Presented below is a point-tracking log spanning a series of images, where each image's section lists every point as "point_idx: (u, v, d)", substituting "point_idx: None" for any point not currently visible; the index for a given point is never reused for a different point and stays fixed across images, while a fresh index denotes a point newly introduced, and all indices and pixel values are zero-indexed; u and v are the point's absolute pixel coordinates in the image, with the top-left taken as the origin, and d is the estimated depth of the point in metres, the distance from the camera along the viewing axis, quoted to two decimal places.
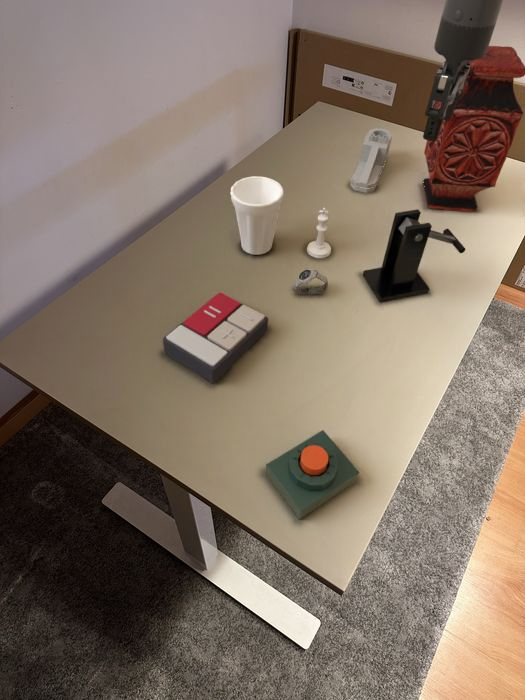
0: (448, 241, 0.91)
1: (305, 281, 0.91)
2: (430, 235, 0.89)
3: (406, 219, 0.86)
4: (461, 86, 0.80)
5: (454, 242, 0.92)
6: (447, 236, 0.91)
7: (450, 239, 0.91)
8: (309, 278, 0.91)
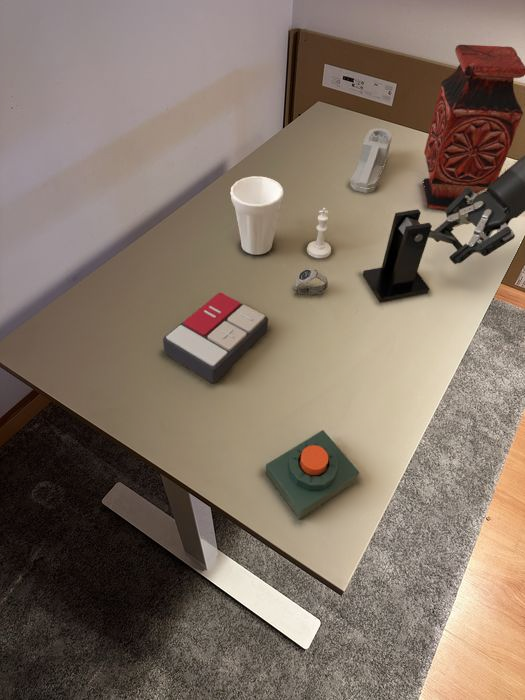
0: (448, 241, 0.91)
1: (305, 281, 0.91)
2: (430, 235, 0.89)
3: (406, 219, 0.86)
4: None
5: (454, 242, 0.92)
6: (447, 236, 0.91)
7: (450, 239, 0.91)
8: (309, 278, 0.91)
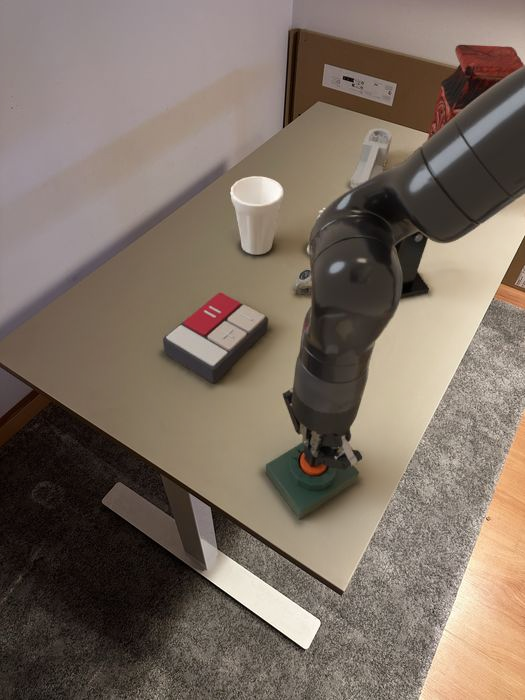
0: None
1: (305, 281, 0.91)
2: None
3: None
4: None
5: None
6: None
7: None
8: (309, 278, 0.91)
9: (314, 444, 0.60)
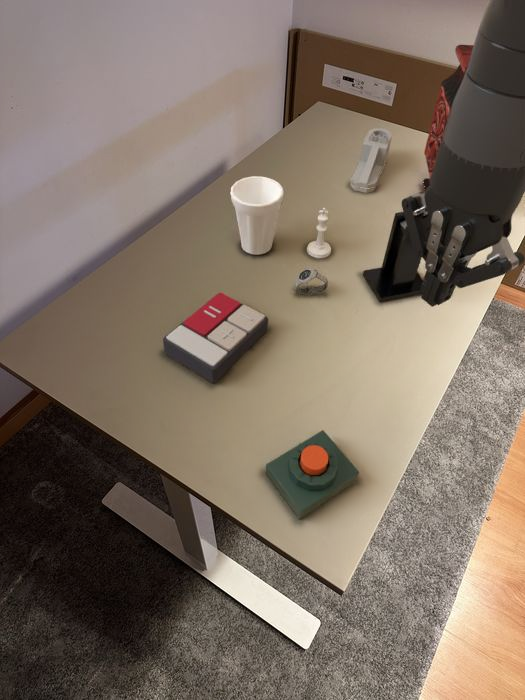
0: None
1: (305, 281, 0.91)
2: None
3: (401, 225, 0.87)
4: None
5: None
6: None
7: None
8: (309, 278, 0.91)
9: (452, 254, 0.45)
